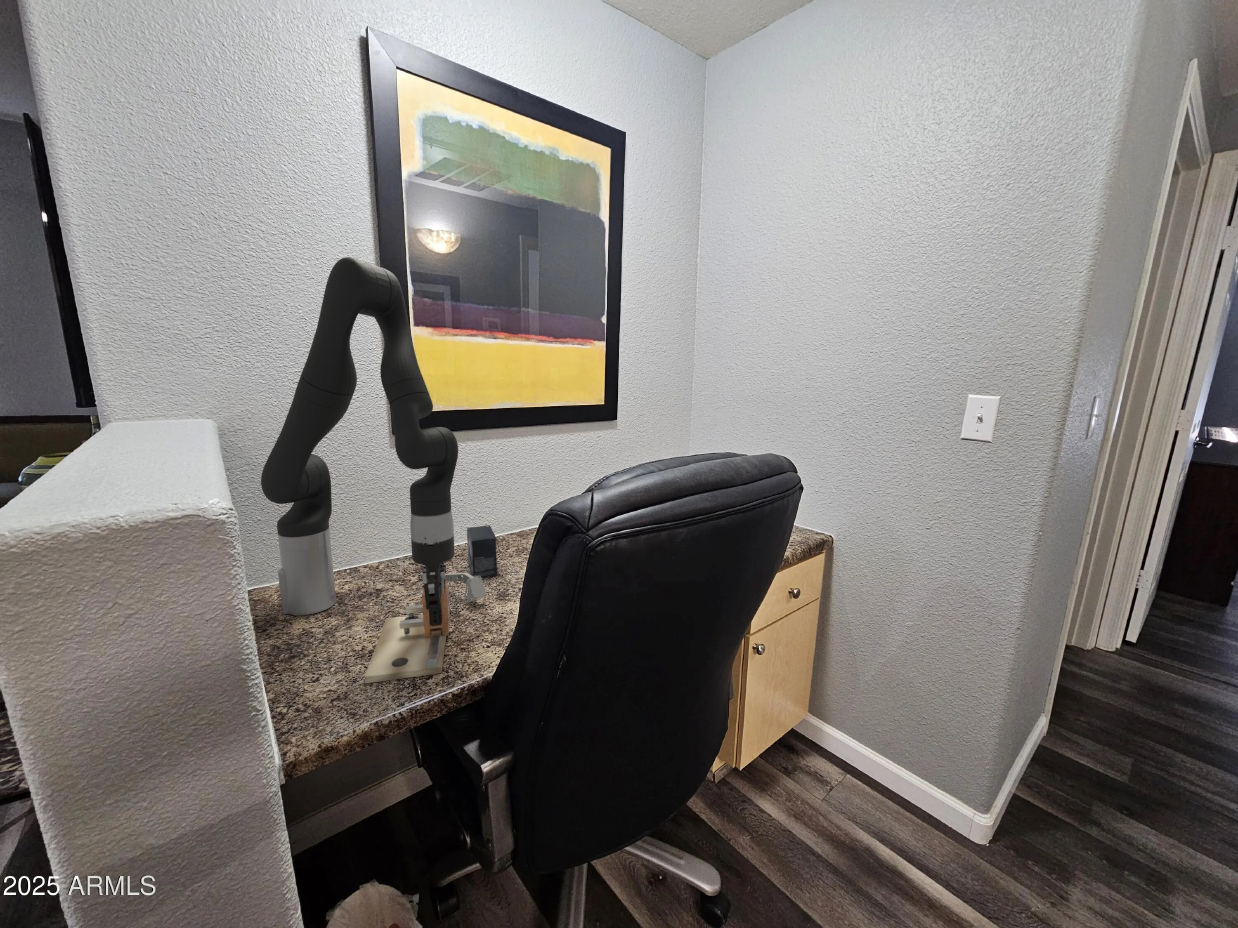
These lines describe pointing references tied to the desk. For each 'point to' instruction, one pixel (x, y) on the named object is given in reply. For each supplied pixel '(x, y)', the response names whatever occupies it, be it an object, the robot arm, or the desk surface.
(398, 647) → the bolt plate
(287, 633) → the desk surface
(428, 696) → the desk surface
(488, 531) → the small box
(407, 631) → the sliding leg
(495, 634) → the desk surface
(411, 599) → the desk surface
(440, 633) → the divider beam
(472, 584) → the bracket
